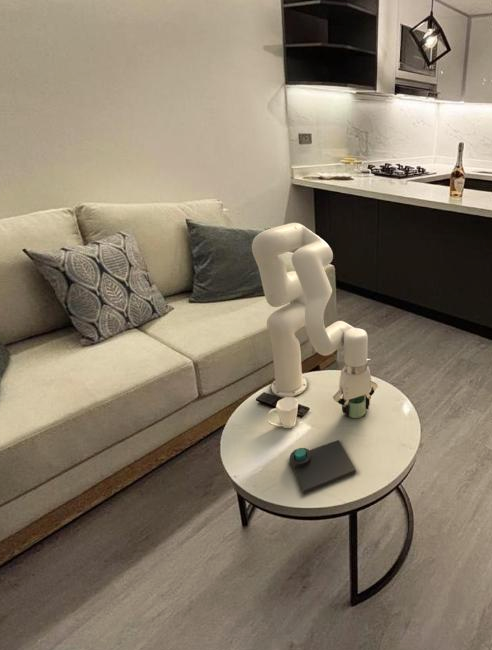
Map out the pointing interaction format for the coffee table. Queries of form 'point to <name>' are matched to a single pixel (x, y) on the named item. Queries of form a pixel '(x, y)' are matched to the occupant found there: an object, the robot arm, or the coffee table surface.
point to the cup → (286, 412)
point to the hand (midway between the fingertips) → (356, 409)
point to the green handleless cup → (357, 406)
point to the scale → (322, 466)
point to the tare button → (300, 454)
